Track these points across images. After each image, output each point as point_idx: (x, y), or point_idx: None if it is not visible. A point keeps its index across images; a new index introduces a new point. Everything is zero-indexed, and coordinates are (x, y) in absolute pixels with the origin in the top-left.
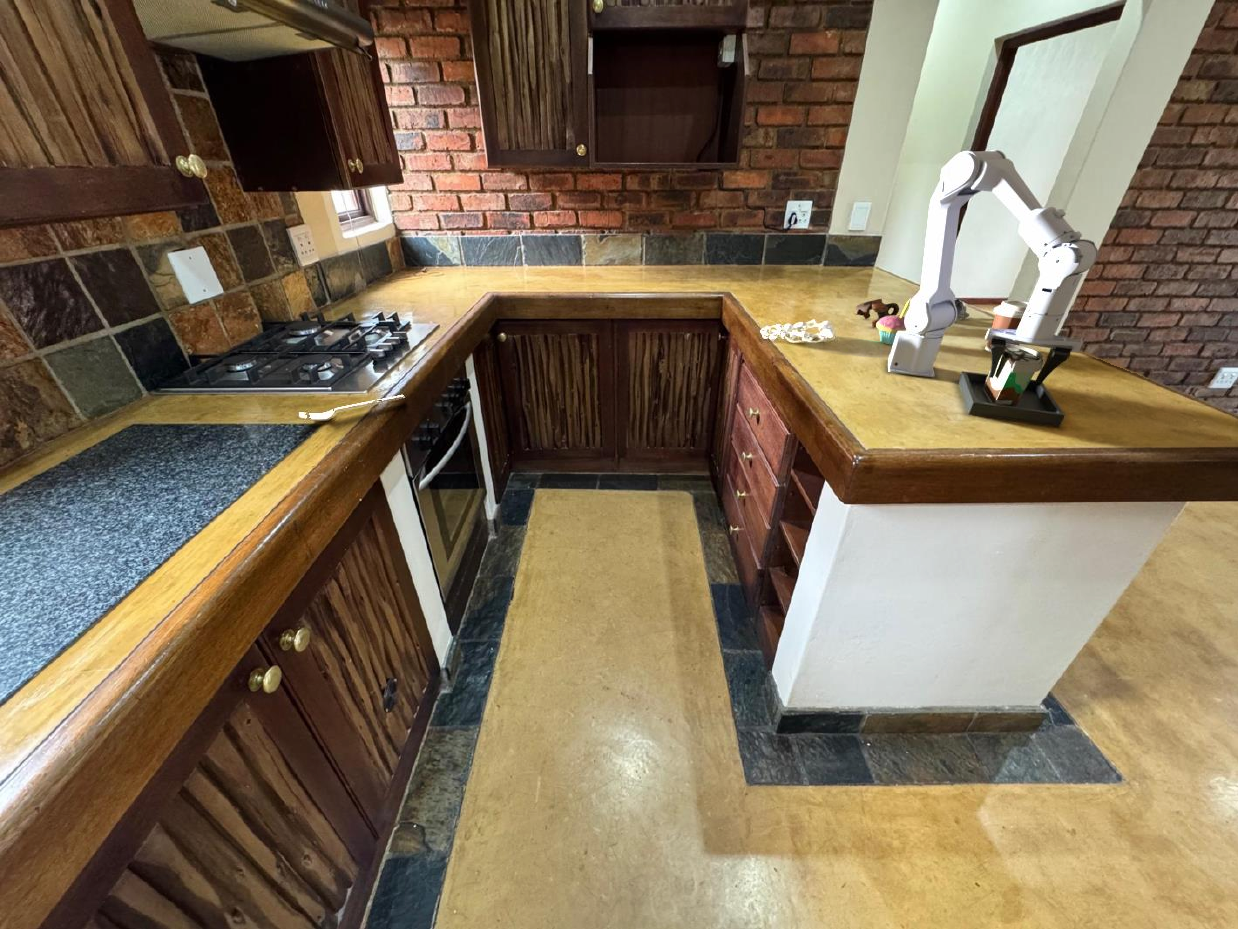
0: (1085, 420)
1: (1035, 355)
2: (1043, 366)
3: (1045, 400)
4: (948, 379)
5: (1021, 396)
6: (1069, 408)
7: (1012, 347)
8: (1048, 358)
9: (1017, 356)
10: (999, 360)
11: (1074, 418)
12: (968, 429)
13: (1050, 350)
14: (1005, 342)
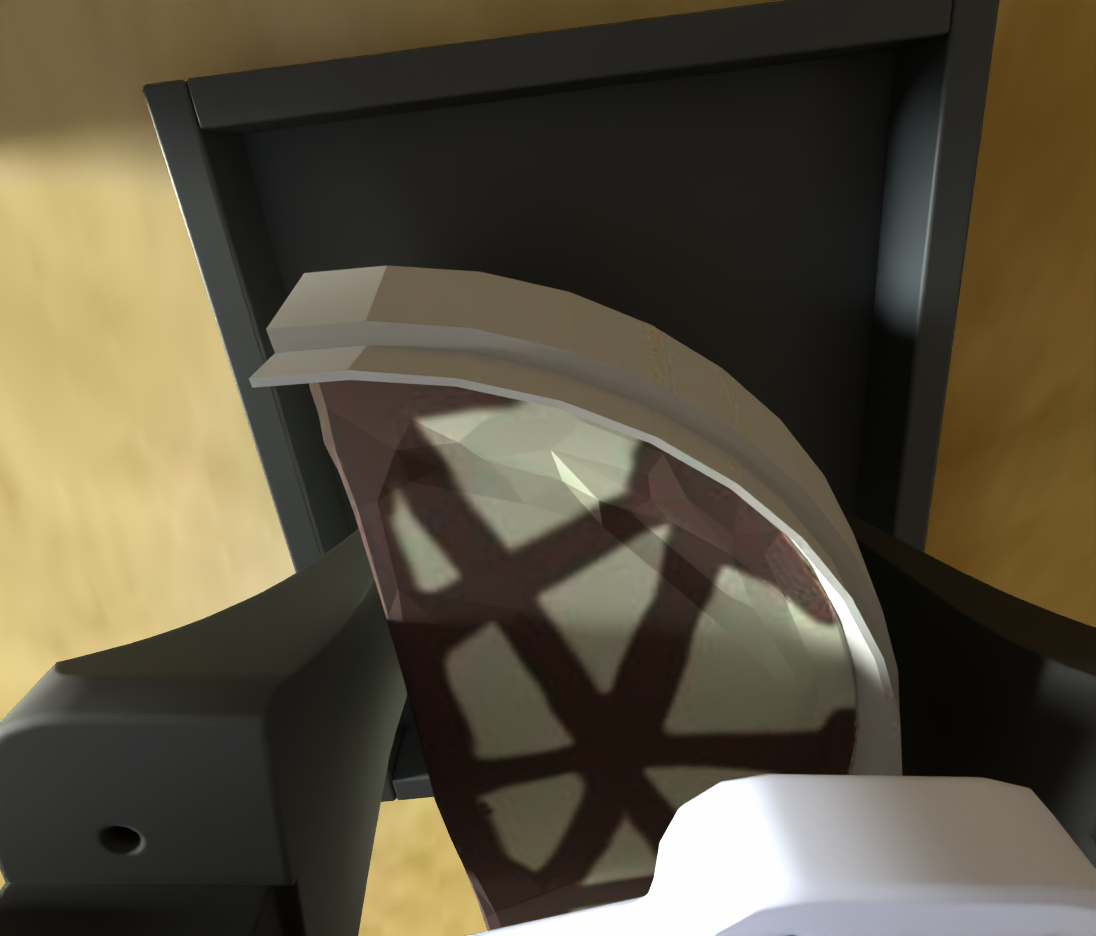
0: (1074, 504)
1: (844, 631)
2: (911, 603)
3: (882, 439)
4: (108, 55)
5: (738, 305)
6: (1065, 320)
7: (516, 404)
8: (970, 772)
9: (568, 791)
10: (380, 793)
11: (1013, 503)
12: (406, 879)
13: (1089, 737)
14: (294, 917)
